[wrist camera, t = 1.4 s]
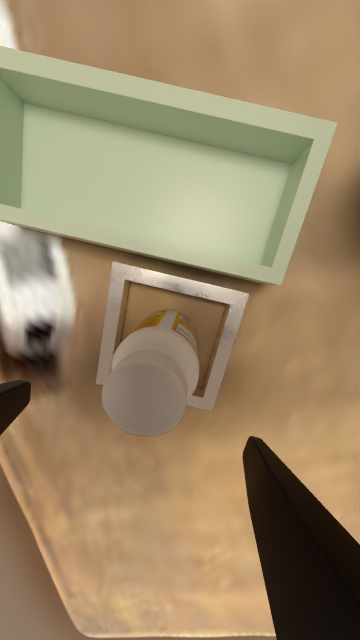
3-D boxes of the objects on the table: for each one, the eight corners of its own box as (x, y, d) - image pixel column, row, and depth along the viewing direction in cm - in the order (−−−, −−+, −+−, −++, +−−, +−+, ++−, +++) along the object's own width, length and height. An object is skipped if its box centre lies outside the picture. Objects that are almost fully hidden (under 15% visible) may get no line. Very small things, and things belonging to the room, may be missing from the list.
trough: (302, 159, 14) (337, 122, 11) (262, 283, 16) (281, 285, 13) (23, 95, 14) (-29, 39, 11) (19, 226, 17) (-26, 213, 13)
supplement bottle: (136, 356, 19) (80, 437, 9) (145, 303, 17) (91, 334, 8) (189, 368, 19) (188, 461, 9) (202, 316, 17) (215, 361, 8)
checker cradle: (244, 292, 17) (249, 293, 15) (210, 401, 19) (212, 411, 18) (119, 262, 17) (112, 261, 15) (102, 375, 19) (95, 383, 18)
